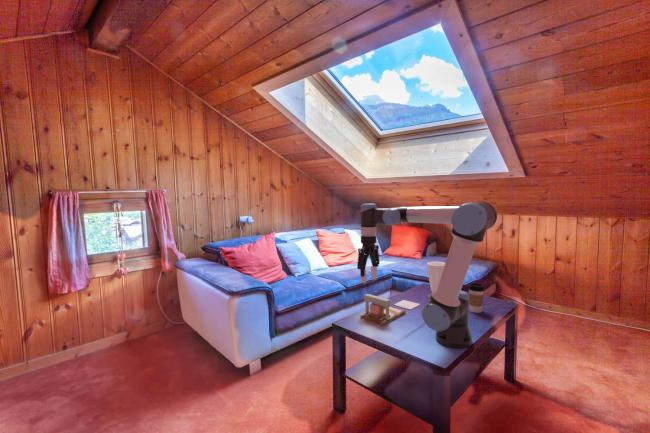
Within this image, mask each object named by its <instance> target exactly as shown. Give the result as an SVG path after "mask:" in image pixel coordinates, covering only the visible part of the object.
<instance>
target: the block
mask: <svg viewBox="0 0 650 433" xmlns="http://www.w3.org/2000/svg"><path fill="white" fill-rule="evenodd" d="M369 311H370V317H373V318H376V319H381V318H383V317H384V306H381V305H378V304H374V303H369Z"/></svg>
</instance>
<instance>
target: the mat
mask: <svg viewBox="0 0 650 433" xmlns="http://www.w3.org/2000/svg"><path fill="white" fill-rule="evenodd" d="M394 305H395V307H398V308H402V309H404V310H405V309H406V310H409V311H411V310H413V309H415V308H417V307H419V306H421V304H420V303H418V302H415V301H410V300H406V299H402V300H400V301H398V302H396V303H393V306H394Z"/></svg>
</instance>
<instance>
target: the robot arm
mask: <svg viewBox="0 0 650 433" xmlns="http://www.w3.org/2000/svg"><path fill="white" fill-rule="evenodd" d="M497 221H498V212H497V210H496V208H495V206H493V205H492V204H491V203H489V202H486V201H475V202H474V201H471V202H470V201H469V202H466V203H461V205H459V206H456V205H454V206H453V205H452V206H451V205H450V206H447V205H446V206H442V205H441V206H403V205H402V206H397V207H389V208H388V207H387V208H386V207H385V208H383V207H380V208H379V207H377V204H376V203H362V204H361V205H360V243H361V244H362V246H361V248H358V249H357V251H358V257H357V267H356V268H357V270H360V283H362V284H367V269H366V267H367V262H368V258H370V262H371V266H370V279H371V280H375V281H377V272H378V271H377V270H378V269H377V268H378V267H379V266H380V254H379V248H380V247H379V246H380V245H377V225H384V226H385V225H387V226H396V225H398V224H399V223H415V224H416V223H420V224H421V223H422V224H423V223H424V224H448V225H449V224H451V225H452V227H451V235H452V237H453V239H452V242H451V245H450V248H449V249H448V250H449V251H448V254H447V257H446V259H445V262H444V263H445V266H444V269H443V272H442V275H441V278H440V281H439V284H438V287H437V290H435V291H433V292H432V291H431V293H430V294H431V296H430V299H429V298H428V299H429V300H428V302H427V303H425V305H424V306H423V307H422V309H421V316H422V320H423V321H424V323H425V325H426V326H427V327H428V328H429V329H431V330H433V331H435V340H436V341H437V342H438V343H439V344H441V345H442V346H445V347H449V348H452V349H466V348H469V347H471V346H472V344H473V338H472V334H471V331H470V328H469V308H470V304H469V293H467V292H466V291H465V290H462V288H463V284H464V282H465V279H466V276H467V274H468V271H469V267H470V264H471V261H472V259H473V256H474V253H475V250H476V248H477V245H479V244H481V243H483V240H484V238H485V235H486V232H487V230H490V229H491V228H492V227H494V226H495V224H496V223H497Z"/></svg>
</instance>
